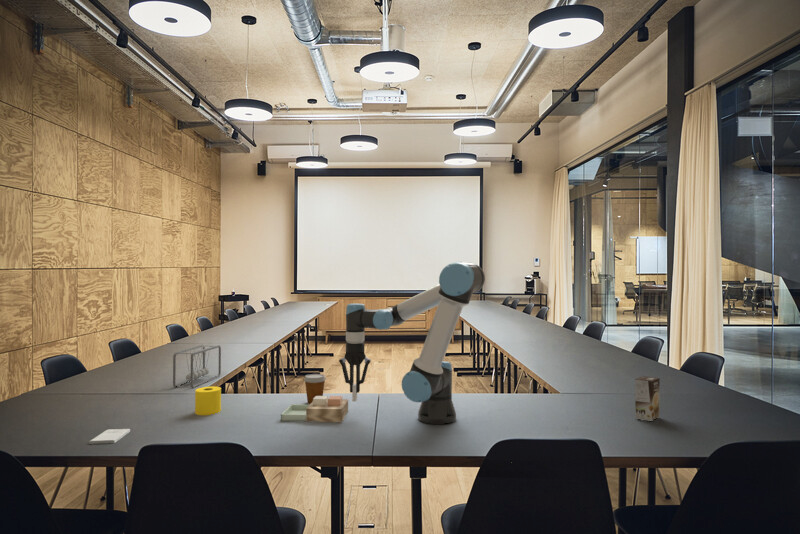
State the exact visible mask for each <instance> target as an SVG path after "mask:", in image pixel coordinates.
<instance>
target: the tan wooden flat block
mask: <svg viewBox="0 0 800 534" xmlns="http://www.w3.org/2000/svg"><path fill="white" fill-rule="evenodd" d="M308 405H309V406H308V407H307V408H306V421H305V422H310V421H316V422H317V421H319V422H320V423H325V422H326V423H342V422H343V421H344V419H345V418H346V416H347V414H348V413H349V399H348V398H343V402H342V404H341V405H340V406H330V405H328V403H327V404H326V405H313V402H312V403H311V404H308ZM345 415H346V416H345ZM344 417H345V418H344ZM317 423H318V422H317Z"/></svg>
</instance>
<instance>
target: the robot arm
mask: <svg viewBox="0 0 800 534" xmlns="http://www.w3.org/2000/svg"><path fill="white" fill-rule="evenodd" d="M438 279H439V280H438V284H436V285H435V286H432V287H430V288H428V289H427V290H424V291H422V292H420V293H418V294H416V295H414V296H412V297H410V298H408V299H406V300H403V301H402V302H399V303H398V304H395V305H394V306H391V307H387V308H380V309H368V308H367V309H366V306H365V304H364V303H348V304H347V305H346V309H345V311H346V313H345V327H346V328H345V341H346V343H345V354H344V356H343V357H342V358H340V359H339V360H338V362H339V364H340V366H341V369H342V373H343V377H344V382H345V384H348V385H349V392H350V393H352V397H351V398H352V402H357V401H358V393H360V390H361V385H362V384H364V382H365V380H366V376H367V371H368V367H369V365H370V363H371V362H372V359H371V358H368V357H367V356H366V352H365V347H366V346H365V341H366V340H365V337H366V336H365V331H366V329H375V330H380V331H381V330H389V329H390V328H391V327H396V326H400V325H402V324H404V322H406V321H407V320H410V319H412V318H414V317H416V316H418V315H420V314H423V313H425V312H427V311H429V310H432V309H434V308H436V310H435V312H434V315H433V319H432V321H431V324H430V327H429V329H428V332H427V335H426V337H425V340H424V344H423V347H422V349H421V352H420V355H419V357H418V358H417V357H416V358H415V359H413V362H412V365H411V368H410V370H409V371H408V372H406V373H405V374H404V376H403V377H402V379H401V389H402V391H403V394H404V395H405V397H406V398H407V399H408V400H409V401H411V402H414V403H421V404H420V406H419V409H418V413H417V420H419V421H420V422H422V423H425V424H429V423H430V424H431V425H445V424H444V423H448V424H451V423H450V422H452V423H454V422H456V421H457V411H456V408H455V406H454V402H453V398H452V397H453V395H452V394H453V393H452V392H453V367H452V363H451V362H449V361H444V360H445V356H446V353H447V350H448V348H449V346H450V342H451V340H452V338H453V334H454V332H455V329H456V326H457V323H458V321H459V319H460V316H461V314H462V310H463V308H464V307H466V306H468V305H469V304H470V301H471V298H472V296H473V294H476V293H478V292H479V291H480V290H481V289H482V288H483V287H484V286H485V282H486V275H485V272H484V270H483V268H482V267H481V266H480V265H478V264H476V263H474V262H462V261H455V262H451V263H449V264H446V266H445V267H443V268H442V270H441V272H440V274H439V278H438ZM346 362H347V363H348V364H349V374H348V368H347V365H346ZM363 362H364V367H363V371H362V375H361V365H362V363H363ZM355 368H356V369H355ZM354 369H355V370H356V371H354ZM354 372H356V373H354ZM354 377H355V380H354ZM354 381H355V383H354ZM455 420H456V421H455ZM453 421H454V422H453ZM430 424H429V425H430Z"/></svg>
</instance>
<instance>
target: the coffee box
mask: <svg viewBox="0 0 800 534" xmlns="http://www.w3.org/2000/svg"><path fill="white" fill-rule="evenodd" d="M634 380H635V381H634V382H635V386H634V387H635V388H634V390H635V391H634V392H635V395H634V396H635V399H634V401H635V402H634V403H635V404H634V405H635V406H634V409H635V411H634V412H635V415H634V416H635V417H634V419H635V418H638V419H643V420H648V421H652V420H654V419H656V418H658V417H659V418H660V411H661V410H660V377H655V376H646V375H643V376H640V377H637V378H635V379H634ZM659 418H658V419H659ZM638 419H637V420H638ZM643 420H642V421H643ZM656 420H657V419H656ZM654 421H655V420H654Z"/></svg>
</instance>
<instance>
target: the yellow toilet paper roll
mask: <svg viewBox="0 0 800 534" xmlns="http://www.w3.org/2000/svg"><path fill="white" fill-rule="evenodd" d="M194 393H195V395H194V397H195V398H194V399H195V400H194V401H195V402H194V404H195V405H194V414H195V415H196V414H197V416H212V415H211V414H213V415H216V414H215V413H217V414H219V413H221V412H222V387H220V386H203V387H199V388H196V389H195V391H194ZM220 411H221V412H220ZM218 412H219V413H218Z"/></svg>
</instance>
